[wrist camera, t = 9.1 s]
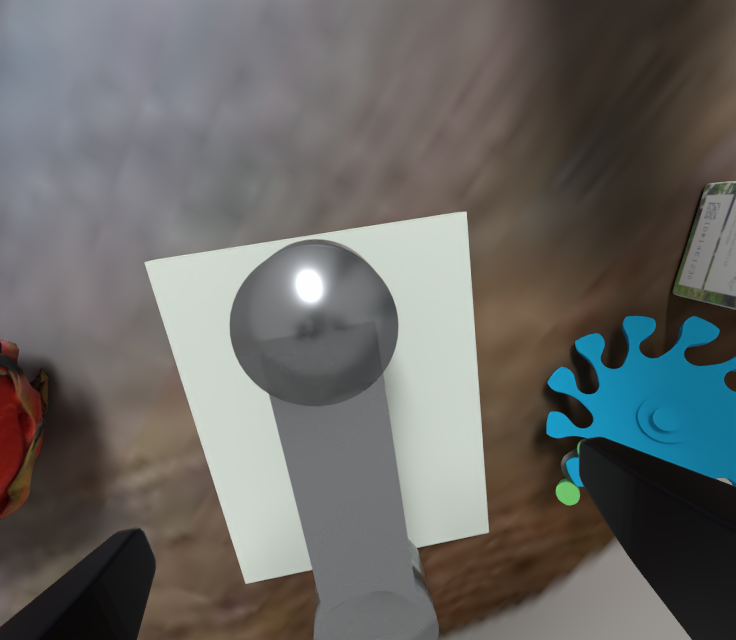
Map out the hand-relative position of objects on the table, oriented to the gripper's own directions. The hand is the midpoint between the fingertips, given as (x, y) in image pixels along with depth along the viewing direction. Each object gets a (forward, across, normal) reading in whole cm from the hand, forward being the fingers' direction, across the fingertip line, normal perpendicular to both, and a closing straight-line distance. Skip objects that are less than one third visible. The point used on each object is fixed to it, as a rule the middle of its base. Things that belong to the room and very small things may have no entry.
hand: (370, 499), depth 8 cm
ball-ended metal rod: (+8, +1, +4) cm, 9 cm away
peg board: (+12, +1, +4) cm, 12 cm away
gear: (+12, -13, +6) cm, 19 cm away
